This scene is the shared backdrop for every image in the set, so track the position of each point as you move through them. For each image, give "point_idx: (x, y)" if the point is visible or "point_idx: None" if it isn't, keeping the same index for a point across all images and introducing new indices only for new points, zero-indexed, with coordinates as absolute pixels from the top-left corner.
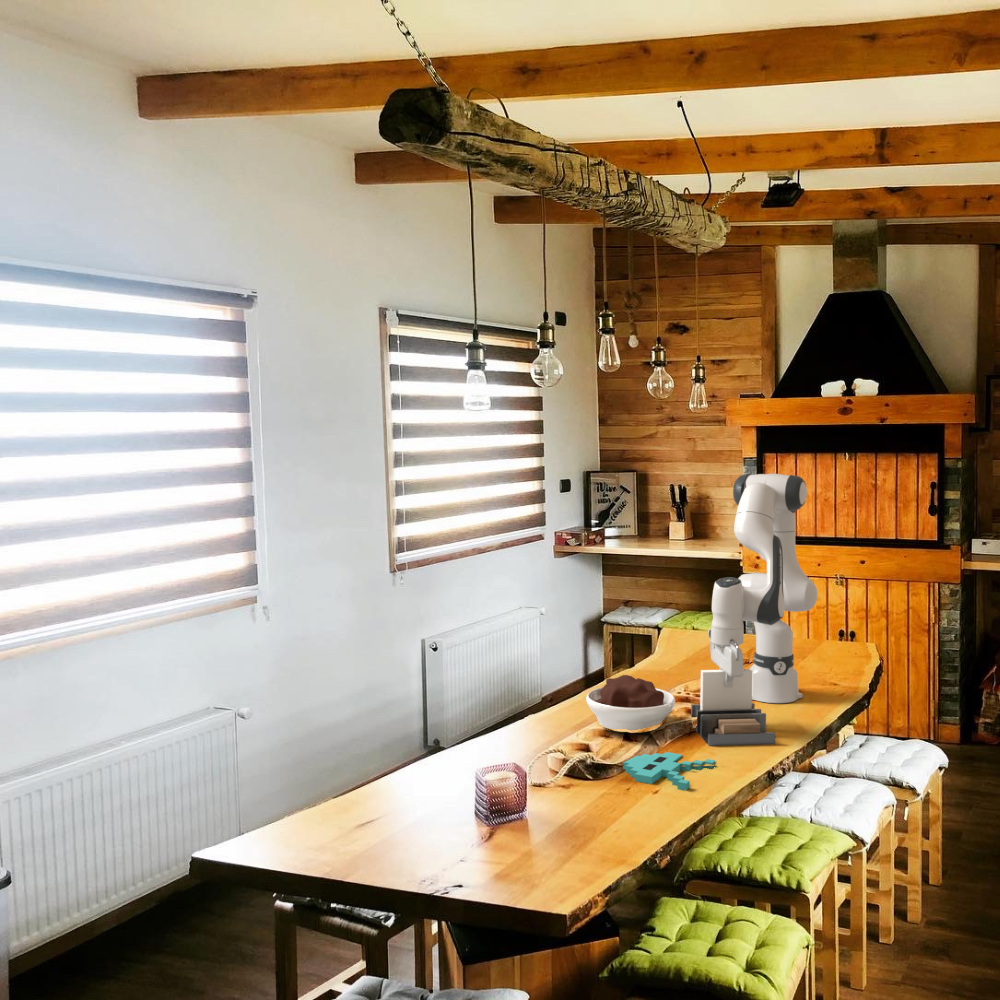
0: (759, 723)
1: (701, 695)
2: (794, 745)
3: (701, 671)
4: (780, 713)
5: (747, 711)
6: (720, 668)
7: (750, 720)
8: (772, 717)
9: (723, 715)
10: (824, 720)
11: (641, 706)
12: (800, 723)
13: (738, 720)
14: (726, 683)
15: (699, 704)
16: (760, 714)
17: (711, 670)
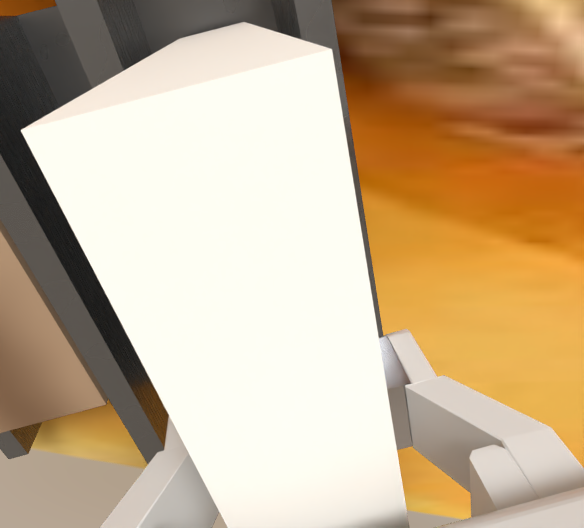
0: (3, 431)
1: (208, 40)
2: (120, 454)
3: (236, 70)
4: (558, 401)
5: None
6: (499, 485)
7: (53, 387)
8: (508, 378)
9: (13, 236)
10: (457, 511)
11: None
12: (423, 459)
13: (18, 324)
14: (171, 427)
15: (322, 18)
16: (137, 446)
17: (330, 353)
